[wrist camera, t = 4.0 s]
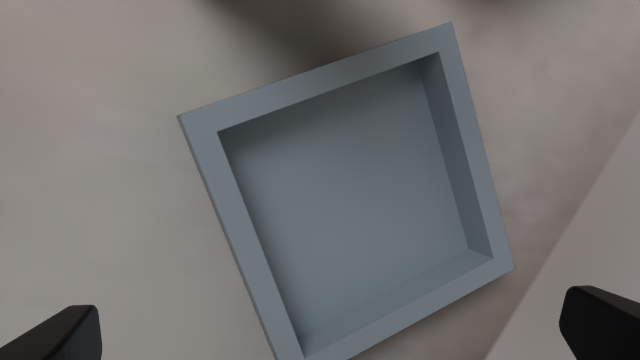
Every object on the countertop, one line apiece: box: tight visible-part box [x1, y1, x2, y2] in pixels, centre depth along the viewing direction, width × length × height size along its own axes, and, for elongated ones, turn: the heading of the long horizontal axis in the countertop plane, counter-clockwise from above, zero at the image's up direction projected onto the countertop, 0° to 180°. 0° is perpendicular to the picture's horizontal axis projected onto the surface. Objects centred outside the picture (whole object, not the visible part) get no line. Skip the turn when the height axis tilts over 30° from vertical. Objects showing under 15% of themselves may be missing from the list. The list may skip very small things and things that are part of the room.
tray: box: [177, 22, 515, 360], centre depth 21 cm, size 12×12×2 cm
